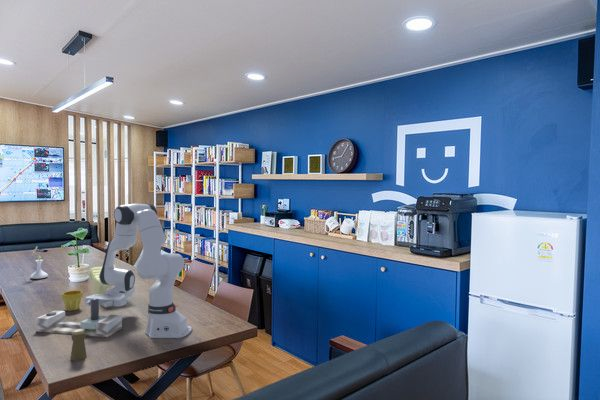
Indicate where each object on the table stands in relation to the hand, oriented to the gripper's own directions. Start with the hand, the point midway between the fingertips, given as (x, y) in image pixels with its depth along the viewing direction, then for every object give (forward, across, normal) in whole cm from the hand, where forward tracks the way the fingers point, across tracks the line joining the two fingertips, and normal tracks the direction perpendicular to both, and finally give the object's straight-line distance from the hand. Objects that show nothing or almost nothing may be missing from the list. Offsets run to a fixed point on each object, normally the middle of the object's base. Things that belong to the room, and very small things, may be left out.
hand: (95, 305), depth 194 cm
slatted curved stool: (-53, -28, +13) cm, 62 cm away
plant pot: (-27, -34, +13) cm, 46 cm away
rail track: (+1, -8, +13) cm, 15 cm away
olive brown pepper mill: (+29, +13, +13) cm, 34 cm away
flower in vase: (-86, -108, +13) cm, 139 cm away
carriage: (+1, 0, +12) cm, 12 cm away
